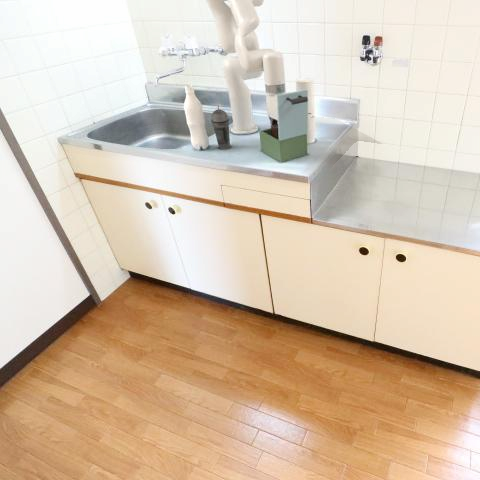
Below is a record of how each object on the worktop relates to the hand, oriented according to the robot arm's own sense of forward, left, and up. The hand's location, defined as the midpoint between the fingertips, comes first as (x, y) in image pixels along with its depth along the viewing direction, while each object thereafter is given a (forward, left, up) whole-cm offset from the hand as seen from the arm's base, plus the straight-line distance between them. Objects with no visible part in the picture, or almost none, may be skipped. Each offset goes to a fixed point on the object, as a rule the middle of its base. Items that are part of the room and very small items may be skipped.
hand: (279, 135), depth 151 cm
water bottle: (-19, -29, -7) cm, 35 cm away
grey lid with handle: (+11, +2, +11) cm, 15 cm away
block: (0, 0, 0) cm, 0 cm away
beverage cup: (-15, -20, -7) cm, 26 cm away
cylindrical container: (-5, +14, -7) cm, 17 cm away
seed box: (+3, 0, -6) cm, 7 cm away
